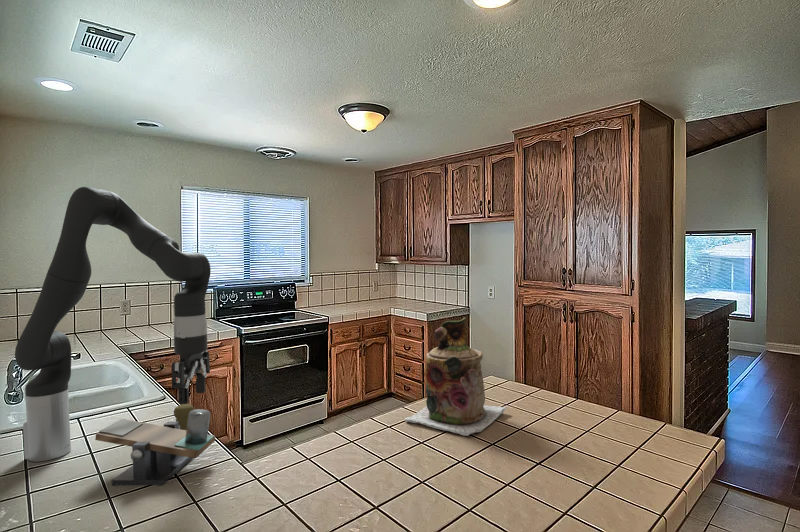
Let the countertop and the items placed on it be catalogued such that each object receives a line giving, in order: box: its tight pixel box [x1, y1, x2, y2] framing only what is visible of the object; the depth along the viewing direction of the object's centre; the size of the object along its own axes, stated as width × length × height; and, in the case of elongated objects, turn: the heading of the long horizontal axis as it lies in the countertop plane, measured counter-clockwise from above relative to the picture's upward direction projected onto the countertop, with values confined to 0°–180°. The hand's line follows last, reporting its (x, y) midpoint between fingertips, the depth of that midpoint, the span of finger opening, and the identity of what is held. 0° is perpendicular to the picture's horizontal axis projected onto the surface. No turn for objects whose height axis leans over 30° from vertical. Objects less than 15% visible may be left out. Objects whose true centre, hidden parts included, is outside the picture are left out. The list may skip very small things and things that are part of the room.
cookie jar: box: [404, 317, 506, 437], centre depth 145 cm, size 25×25×32 cm
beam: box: [94, 418, 216, 459], centre depth 115 cm, size 25×10×2 cm, turn 87°
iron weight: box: [185, 408, 212, 445], centre depth 114 cm, size 5×5×7 cm
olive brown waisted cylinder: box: [173, 403, 195, 430], centre depth 130 cm, size 6×6×11 cm
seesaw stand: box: [111, 421, 193, 486], centre depth 115 cm, size 12×17×9 cm
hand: (192, 398), depth 114 cm, fingers open, 8 cm apart
